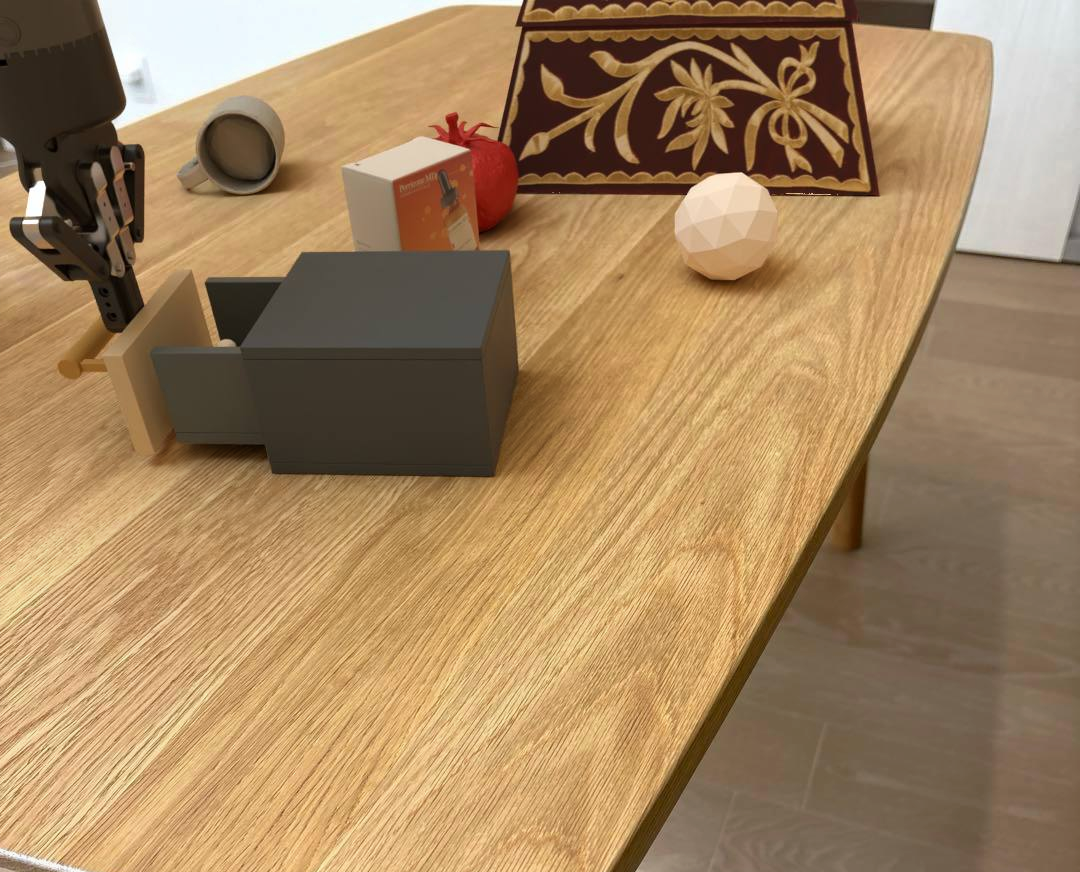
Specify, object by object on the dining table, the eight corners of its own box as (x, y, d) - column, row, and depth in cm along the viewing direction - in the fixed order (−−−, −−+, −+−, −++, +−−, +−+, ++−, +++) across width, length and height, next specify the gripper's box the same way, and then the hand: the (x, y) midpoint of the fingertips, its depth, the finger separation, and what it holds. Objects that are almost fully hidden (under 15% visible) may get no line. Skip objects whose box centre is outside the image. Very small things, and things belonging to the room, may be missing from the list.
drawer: (67, 452, 66) (28, 355, 62) (139, 360, 75) (109, 269, 70) (334, 456, 64) (313, 356, 60) (376, 361, 73) (360, 268, 69)
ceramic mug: (293, 161, 108) (276, 81, 103) (287, 190, 101) (269, 107, 96) (187, 173, 107) (165, 93, 102) (175, 203, 101) (151, 120, 96)
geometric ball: (715, 318, 83) (673, 260, 76) (687, 245, 87) (645, 185, 80) (806, 269, 80) (771, 205, 74) (773, 196, 84) (737, 130, 78)
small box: (409, 322, 79) (389, 181, 72) (361, 301, 82) (337, 165, 75) (486, 283, 83) (473, 147, 77) (437, 265, 86) (421, 133, 80)
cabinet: (271, 473, 65) (238, 347, 59) (325, 368, 74) (301, 251, 69) (494, 477, 63) (481, 347, 58) (519, 369, 73) (509, 249, 67)
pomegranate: (533, 200, 96) (526, 93, 90) (505, 246, 89) (496, 132, 83) (428, 196, 98) (415, 91, 92) (392, 241, 91) (376, 129, 85)
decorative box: (864, 122, 107) (895, -111, 95) (879, 196, 93) (918, -69, 80) (522, 123, 113) (508, -97, 100) (485, 192, 98) (464, -55, 86)
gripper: (21, 0, 61) (115, 281, 72) (-111, 66, 51) (21, 382, 62) (145, -6, 60) (221, 280, 71) (36, 60, 50) (145, 382, 61)
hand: (128, 327), depth 66 cm, fingers closed
